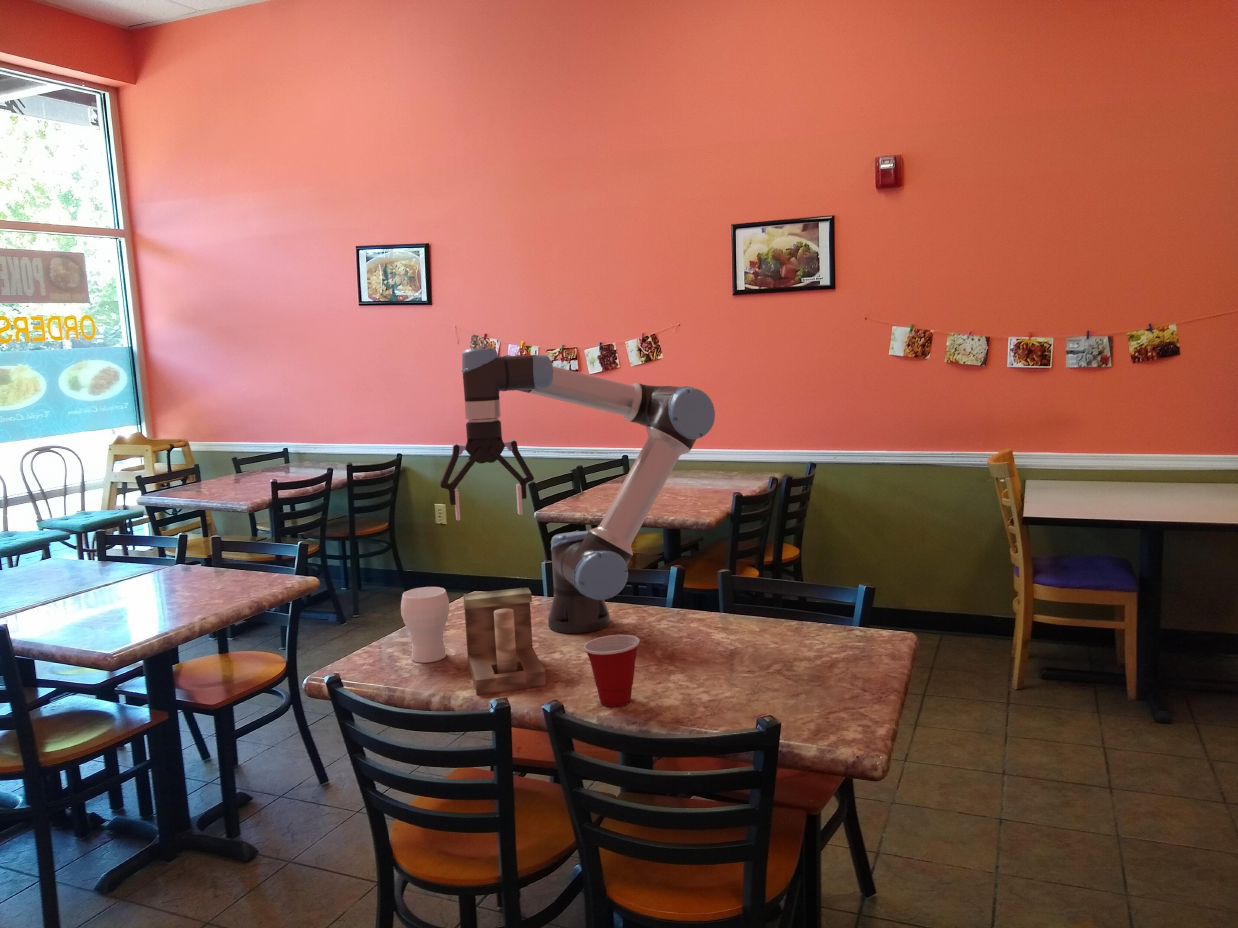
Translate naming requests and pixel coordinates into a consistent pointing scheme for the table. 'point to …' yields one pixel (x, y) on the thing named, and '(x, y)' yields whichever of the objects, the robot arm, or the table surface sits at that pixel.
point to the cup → (426, 622)
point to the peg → (505, 641)
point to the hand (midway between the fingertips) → (489, 516)
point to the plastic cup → (613, 667)
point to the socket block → (484, 642)
